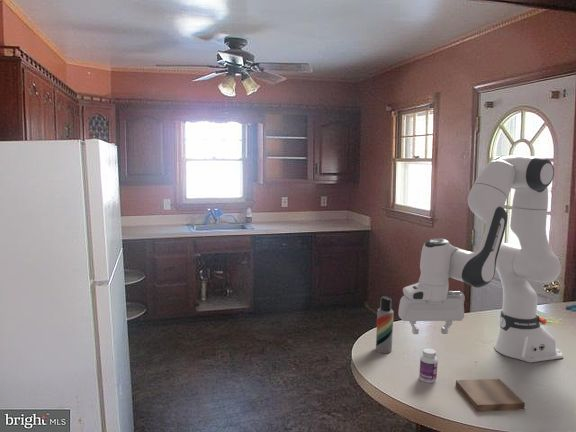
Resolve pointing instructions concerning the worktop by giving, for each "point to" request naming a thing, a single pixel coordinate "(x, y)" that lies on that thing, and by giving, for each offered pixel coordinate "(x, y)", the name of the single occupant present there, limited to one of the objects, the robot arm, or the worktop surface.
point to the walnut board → (489, 395)
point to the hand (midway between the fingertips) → (429, 333)
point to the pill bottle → (428, 366)
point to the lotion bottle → (384, 326)
